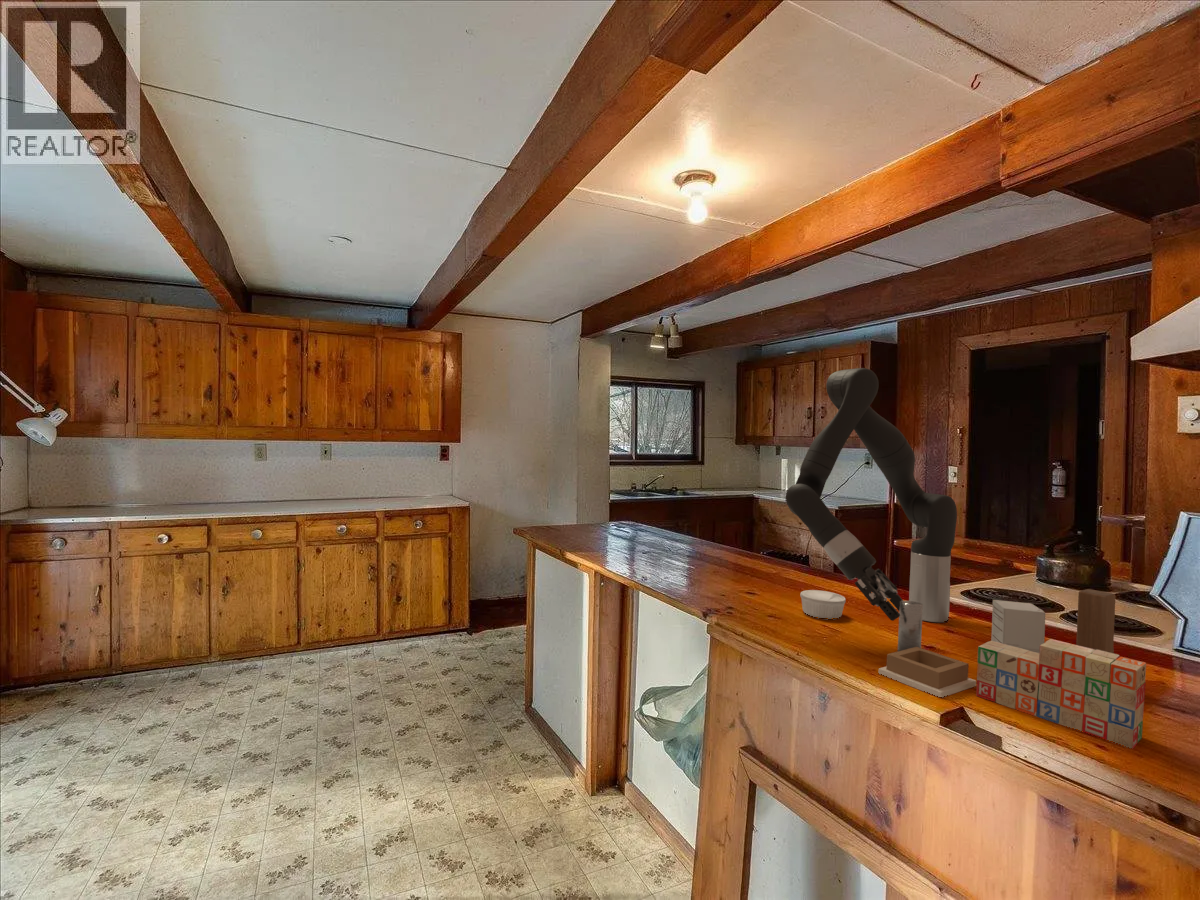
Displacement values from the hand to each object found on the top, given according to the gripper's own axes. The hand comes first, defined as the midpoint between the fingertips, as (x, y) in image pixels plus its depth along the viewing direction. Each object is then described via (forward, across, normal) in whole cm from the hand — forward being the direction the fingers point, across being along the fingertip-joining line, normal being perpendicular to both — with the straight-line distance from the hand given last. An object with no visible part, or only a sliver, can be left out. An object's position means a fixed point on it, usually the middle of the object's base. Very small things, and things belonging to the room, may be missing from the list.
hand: (901, 614), depth 125 cm
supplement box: (+20, +10, -8) cm, 24 cm away
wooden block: (+29, +10, -18) cm, 36 cm away
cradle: (+11, -14, 0) cm, 18 cm away
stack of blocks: (+25, -15, -13) cm, 32 cm away
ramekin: (-10, +16, +22) cm, 29 cm away
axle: (+7, 0, +4) cm, 8 cm away
